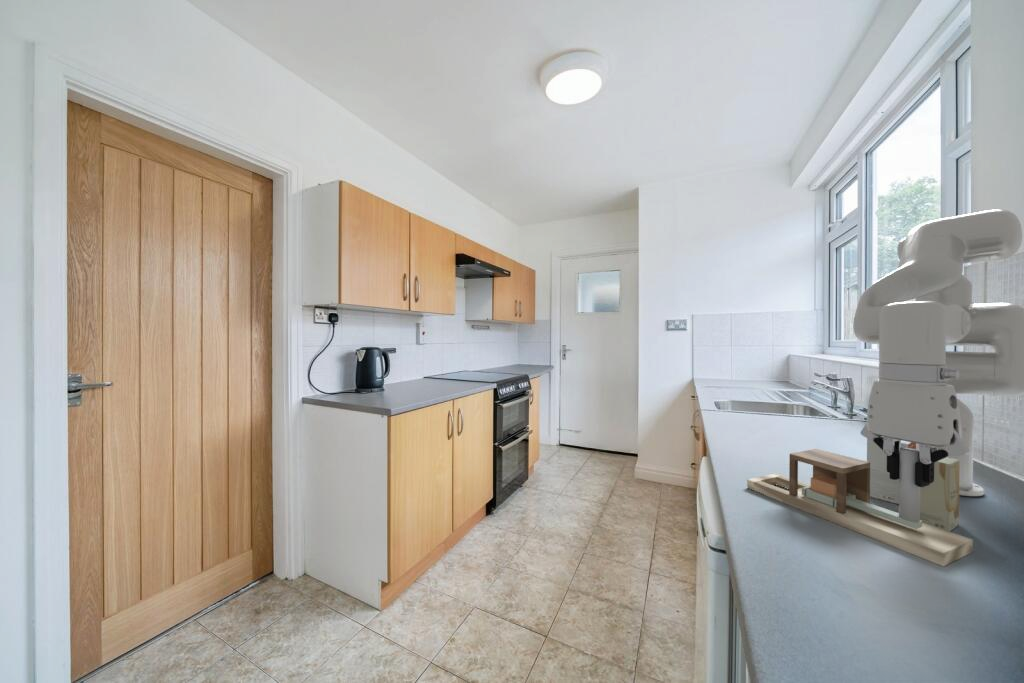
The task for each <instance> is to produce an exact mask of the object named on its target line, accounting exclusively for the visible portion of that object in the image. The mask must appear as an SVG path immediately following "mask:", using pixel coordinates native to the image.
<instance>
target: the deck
mask: <svg viewBox="0 0 1024 683" xmlns="http://www.w3.org/2000/svg"><path fill="white" fill-rule="evenodd" d="M746 481H747V482H746V486H747V487H748V488H750V489H749V490H751V489H752V490H751V491H753V490H755V491H754V492H756V491H757V492H756V493H758V492H760V493H759V494H761V493H762V494H761V495H763V494H764V495H763V496H766V497H769V498H771V499H774V500H776V501H779V502H780V503H784V504H786V505H788V506H791V507H793V508H796V509H799V510H801V511H804V512H806V513H808V514H811V515H814V516H817V517H818V518H821V519H824V520H826V521H829V522H831V523H834V524H836V525H839V526H841V527H844V528H846V529H849V530H851V531H853V532H857V533H858V534H862V535H864V536H866V537H869V538H871V539H874V540H876V541H879V542H880V543H881V542H882V543H884V544H886V545H889V546H891V547H895V548H896V549H899V550H901V551H904V552H906V553H909V554H912V555H914V556H916V557H920V558H921V559H924V560H926V561H929V562H932V563H934V564H937V565H939V566H942V567H945V566H948V565H949V564H951V563H953V562H955V561H957V560H959V559H962V558H964V557H966V556H967V555H970V554H971V553H974V539H973V538H971V537H966V536H964V535H960V534H958V533H955V532H953V531H952V532H951V531H946V530H943V529H940V528H937V527H934V526H931V525H928V524H925V523H922V527H920V528H918V529H914V528H912V527H909V526H906V525H903V524H900V523H897V522H894V521H892V520H889V519H886V518H883V517H880V516H877V515H874V514H872V513H869V512H866V511H863V510H860V509H857V508H854V507H852V506H849V505H847V506H846V513H845V514H841V513H838V512H836V507H834V506H830V505H828V504H825V503H822V502H819V501H817V500H814V499H811V498H808V497H806V496H803V495H802V488H804V487H808V486H811V484H808V483H805V482H802V481H799V480H798V496H793V495H790V494H789V490H788V489H789V477H787V476H784V475H781V474H778V473H772V474H766V475H762V476H758V477H753V478H749V479H748V478H747V480H746ZM776 484H777V485H780V486H783V487H786V488H788V489H785V488H782V487H780V486H777V485H776ZM773 485H776V486H773ZM748 488H747V489H748Z"/></svg>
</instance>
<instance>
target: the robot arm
mask: <svg viewBox="0 0 1024 683" xmlns="http://www.w3.org/2000/svg"><path fill="white" fill-rule="evenodd" d="M1022 241H1023V229H1022V224H1021V221H1020V219H1019V217H1018V216H1017V214H1015V213H1014V212H1012V211H1010V210H1006V209H990V210H983V211H979V212H973V213H967V214H961V215H956V216H950V217H944V218H939V219H934V220H933V219H932V220H929V221H927V222H923V223H921V224H919V225H917V226H915V227H914V228H912V229H911V230H910V231H909V232H908V233H907V234H906V236H905V237H904V238H902V239H901V240H899V242H898V244H897V249H896V250H897V252H896V253H897V257H898V260H899V262H898V266H897V267H898V268H897V269H895V270H893V271H891V272H889V273H888V274H886V275H884V276H883V277H880V279H878V280H877V281H875V282H873V283H872V284H870V286H868V287H867V288H866V289H865V290H864V291H863V293H862V294H861V296H860V298H859V300H858V302H857V303H858V304H857V306H856V310H855V313H854V317H853V324H852V328H853V333H854V335H855V337H856V338H857V339H858V340H859V341H860V342H862V343H865V344H868V345H878V351H879V352H878V379H874V381H873V383H872V387H871V390H870V393H869V397H868V398H869V399H868V404H867V412H866V424H864V426H863V428H862V429H861V431H860V435H861V436H862V437H864V438H866V439H867V438H868V439H870V440H871V441H874V442H875V443H876V444H877V445H878V446H879V447H880V448H881V449H882V450H883V453H884V454H885V455H887V472H889V473H890V479H892V480H897V479H899V448H901V440H903V441H908V442H913V443H916V450H919V452H920V458H919V462H916V463H915V485H917V486H918V487H925V486H928V485H930V483H933V482H934V463H935V462H937V461H939V460H942V459H944V458H946V457H948V458H953V459H958V460H960V467H959V496H962V497H981V496H984V495H985V489H984V488H983V487H982V486H981V485H979V484H976V483H974V480H973V479H974V477H973V476H974V415H973V412H972V410H971V408H970V407H969V406H967V405H966V403H964V402H963V401H962V400H960V399H959V397H958V394H959V395H965V394H966V395H973V396H974V395H977V396H987V397H988V396H989V397H1004V398H1005V397H1006V398H1007V397H1008V398H1013V397H1015V398H1016V397H1020V396H1023V395H1024V307H1023V306H1021V305H1020V304H1016V303H1012V302H991V303H990V302H988V303H987V302H986V303H973V300H972V295H973V285H972V284H973V283H972V282H971V281H970V280H969V278H967V277H966V276H965V275H964V274H963V268H964V264H970V263H978V262H988V261H997V260H1004V259H1008V258H1010V257H1013V256H1014V255H1015V254H1016V253H1018V251H1019V249H1020V248H1021V245H1022ZM914 299H915V300H914ZM911 300H914V301H911ZM946 346H949V347H950V346H951V347H953V346H954V347H955V346H956V347H957V346H958V347H960V346H961V347H988V348H990V349H993V350H994V351H995V352H989V351H988V352H987V351H986V352H985V351H983V352H981V351H980V352H979V351H954V350H953V351H951V350H949V351H947V349H946V348H947V347H946ZM881 436H883V437H881Z"/></svg>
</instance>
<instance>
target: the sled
mask: <svg viewBox="0 0 1024 683" xmlns="http://www.w3.org/2000/svg"><path fill="white" fill-rule="evenodd" d="M919 458H920V452H919V450H915V449H910V448H899V504H898V512H896V511H893V510H890V509H887V508H885V507H881V506H878V505H877V504H876V505H875V504H873V503H871V502H870V503H867V502H864V501H861V500H858V499H856V495H853V494H850V493H847V492H846V506H847V505H849V506H852V507H854V508H857V509H860V510H863V511H866V512H869V513H872V514H874V515H877V516H880V517H883V518H886V519H889V520H892V521H894V522H897V523H900V524H903V525H906V526H909V527H912V528H914V529H918V528H920V527H922V521H921V520H920V487H918V486H917V485H915V463H916V462H919ZM802 495H803V496H806V497H808V498H811V499H814V500H817V501H819V502H822V503H825V504H828V505H830V506H834V507H836V499H835V504H834V498H832V497H829V496H827V495H824V494H821V493H818V492H815V491H812V490H811V486H808V487H804V488H802Z"/></svg>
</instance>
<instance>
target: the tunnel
mask: <svg viewBox="0 0 1024 683" xmlns="http://www.w3.org/2000/svg"><path fill="white" fill-rule="evenodd" d="M799 462H801V463H804V464H807V465H811V466H812V477H817V476H821V475H824V476H827V477H830V478H833V479H837V481H836V512H838V513H841V514H845V513H846V492H847V493H850V494H853V495H856V499H858V500H861V501H864V502H867V503H870V504H871V497H870V462H867V460H861V459H858V458H853V457H850V456H846V455H843V454H842V455H841V454H838V453H833V452H830V451H826V450H821V449H819V448H818V449H817V448H813V449H808V450H802V451H797V452H791V453H789V462H788V463H789V468H788V469H789V472H788V473H789V474H788V475H789V477H788V478H789V490H788V491H789V494H790V495H793V496H798V481H799V478H798V477H799V476H798V475H799Z"/></svg>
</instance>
